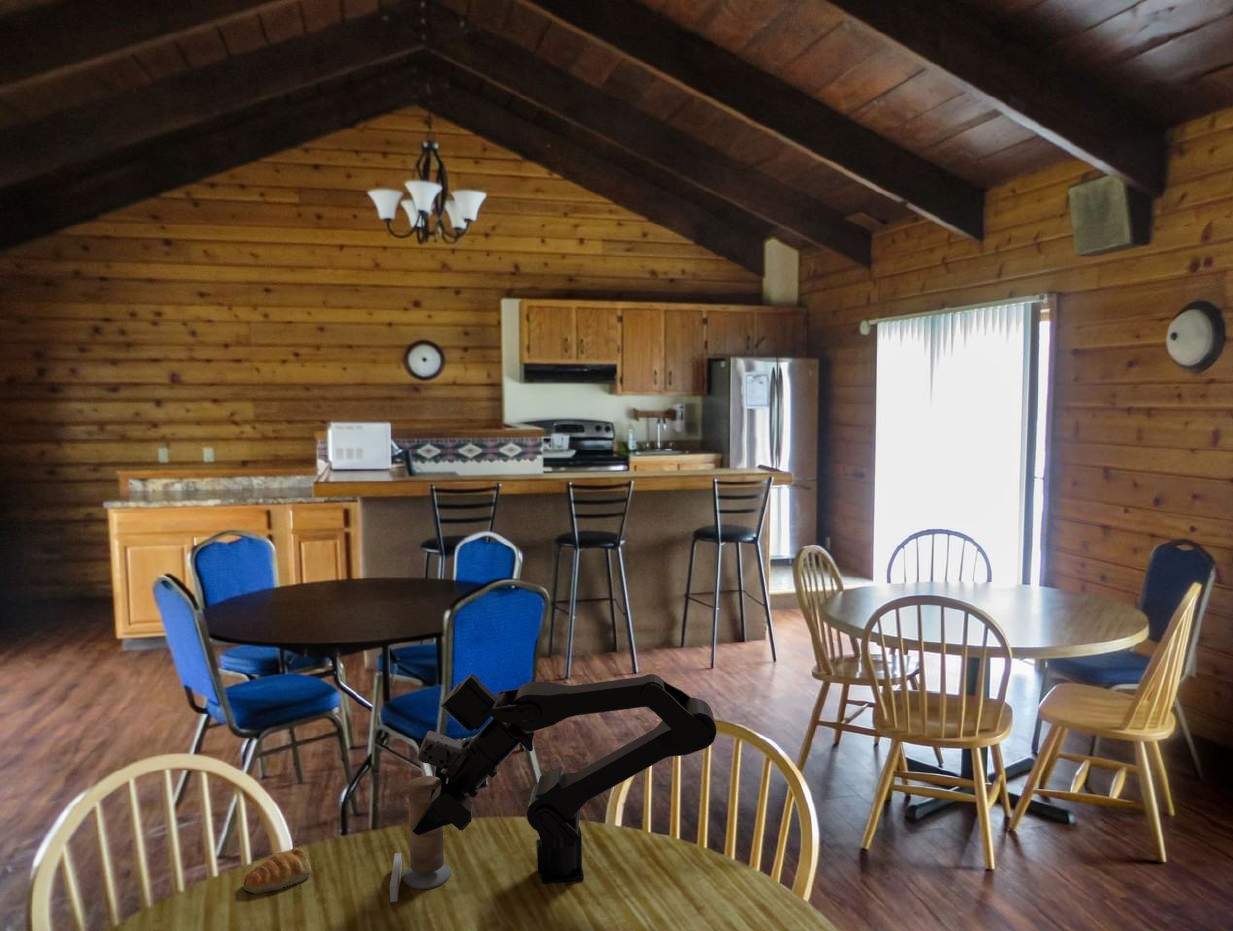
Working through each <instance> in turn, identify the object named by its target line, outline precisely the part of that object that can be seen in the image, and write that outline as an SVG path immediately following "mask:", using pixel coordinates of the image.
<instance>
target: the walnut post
mask: <svg viewBox="0 0 1233 931" xmlns="http://www.w3.org/2000/svg"><path fill="white" fill-rule="evenodd" d="M441 784H442V781H441V779H440V778H438V777H435V775H423V776H419V777H415V778H413V779H411V780H410V781H409V782H408V783H407V795H408V821H409V822H408V825H409V827H408V829H409V830H408V831H409V855H410V856H409V857H410V858H409V859H410V862H409V863H410V867H411V869H412V870H413V871H414V872H417V873H431V872H434V871H437V870H438V869H440V868H441V867H442V866H443V864H444V863H445V862H444V861H445V856H444V828H443V827H444V826H442V827H440V828H437V829H434V830H431V831H429V832H426V833H423V834H421V835H416V834H415V833H414V832H413V829H414V827H415V826H416V824H417V823H418V822H419V820H420V819H421V817H422V816H423V814H424V813H425V812H426V810H427V809H428V807H429V806H430V805H431V792H432V789H434V790H435V791H436V789H437V788H438V787H439V786H440V785H441Z"/></svg>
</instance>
